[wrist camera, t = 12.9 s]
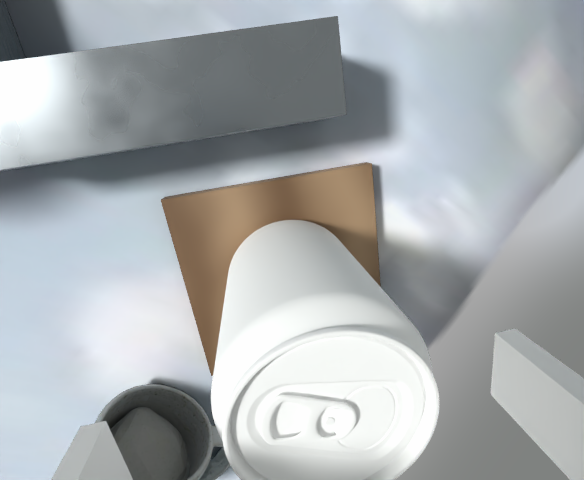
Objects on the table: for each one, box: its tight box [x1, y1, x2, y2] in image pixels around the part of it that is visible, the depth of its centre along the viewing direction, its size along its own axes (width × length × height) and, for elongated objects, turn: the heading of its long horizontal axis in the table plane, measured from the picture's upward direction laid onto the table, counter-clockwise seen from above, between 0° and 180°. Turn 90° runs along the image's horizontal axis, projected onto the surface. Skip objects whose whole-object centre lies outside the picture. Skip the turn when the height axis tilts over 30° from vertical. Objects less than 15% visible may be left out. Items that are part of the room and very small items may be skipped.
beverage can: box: [211, 220, 439, 480], centre depth 16 cm, size 8×8×12 cm
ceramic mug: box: [95, 384, 230, 480], centre depth 22 cm, size 11×8×8 cm
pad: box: [161, 162, 381, 376], centre depth 22 cm, size 13×13×1 cm
